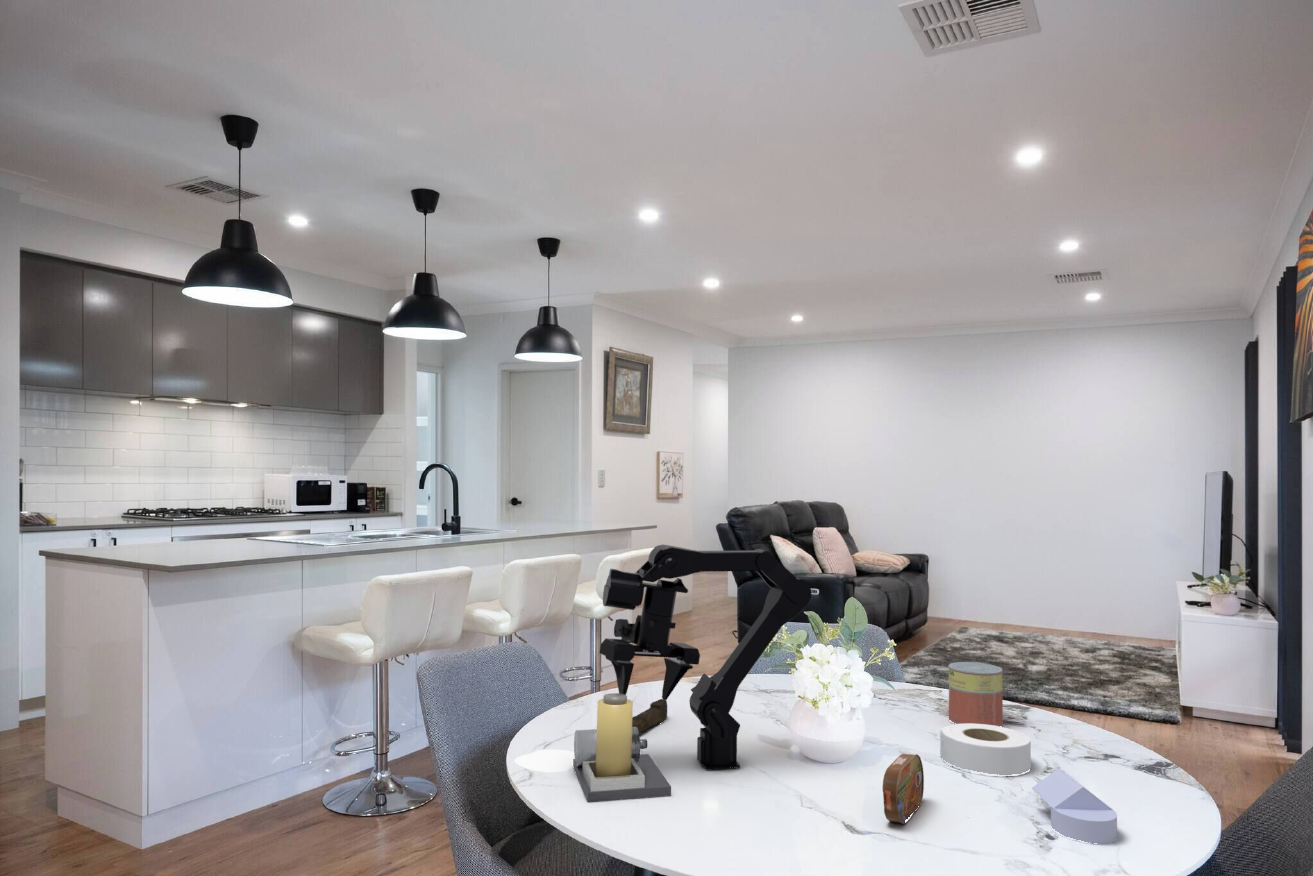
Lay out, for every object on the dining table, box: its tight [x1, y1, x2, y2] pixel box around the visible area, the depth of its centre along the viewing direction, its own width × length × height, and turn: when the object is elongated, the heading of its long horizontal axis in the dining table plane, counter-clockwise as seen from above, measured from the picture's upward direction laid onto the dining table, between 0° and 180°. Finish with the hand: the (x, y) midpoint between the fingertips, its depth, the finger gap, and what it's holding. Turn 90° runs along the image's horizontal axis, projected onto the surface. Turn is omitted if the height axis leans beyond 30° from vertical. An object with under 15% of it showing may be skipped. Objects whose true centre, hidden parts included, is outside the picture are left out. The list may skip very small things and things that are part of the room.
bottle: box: [595, 692, 634, 778], centre depth 145 cm, size 6×6×14 cm
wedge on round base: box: [1030, 767, 1118, 845], centre depth 132 cm, size 9×7×13 cm
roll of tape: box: [939, 723, 1032, 775], centre depth 161 cm, size 16×16×6 cm
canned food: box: [947, 661, 1004, 726], centre depth 187 cm, size 11×11×12 cm
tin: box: [882, 753, 925, 825], centre depth 136 cm, size 15×3×8 cm, turn 148°
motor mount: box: [572, 727, 672, 803], centre depth 148 cm, size 14×17×8 cm
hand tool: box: [632, 698, 668, 734], centre depth 180 cm, size 19×4×5 cm, turn 151°
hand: (643, 698), depth 155 cm, fingers open, 9 cm apart
